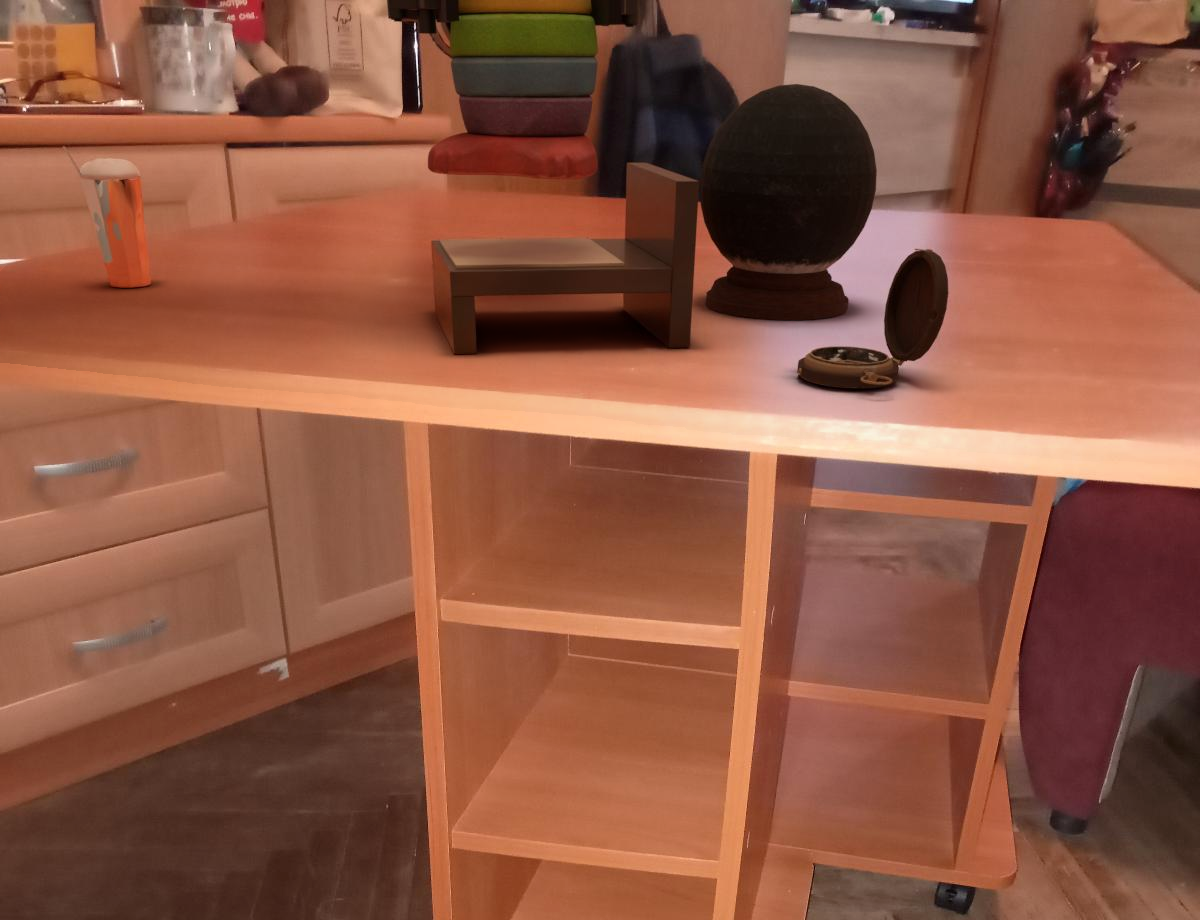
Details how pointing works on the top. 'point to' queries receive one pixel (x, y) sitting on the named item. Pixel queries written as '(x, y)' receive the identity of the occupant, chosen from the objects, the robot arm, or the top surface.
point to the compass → (890, 329)
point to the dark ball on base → (786, 202)
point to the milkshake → (117, 218)
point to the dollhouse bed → (585, 263)
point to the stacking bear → (522, 90)
